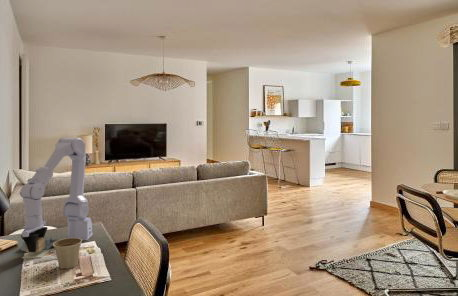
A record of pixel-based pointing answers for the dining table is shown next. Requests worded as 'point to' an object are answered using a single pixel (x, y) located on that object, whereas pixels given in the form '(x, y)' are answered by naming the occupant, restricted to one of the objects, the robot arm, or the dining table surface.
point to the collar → (38, 244)
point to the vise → (48, 244)
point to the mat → (36, 254)
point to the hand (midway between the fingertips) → (35, 249)
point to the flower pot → (67, 252)
